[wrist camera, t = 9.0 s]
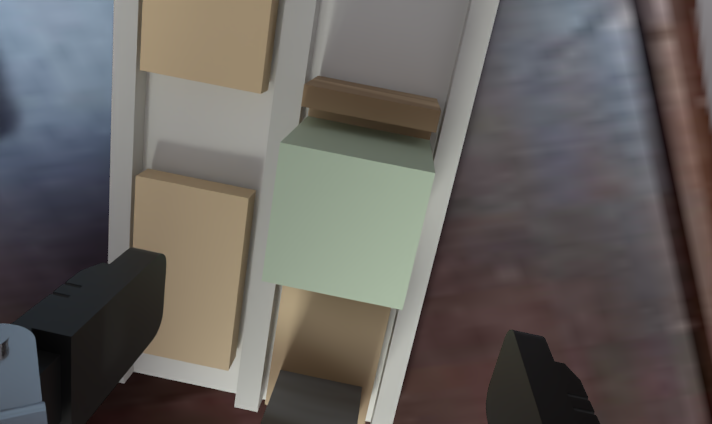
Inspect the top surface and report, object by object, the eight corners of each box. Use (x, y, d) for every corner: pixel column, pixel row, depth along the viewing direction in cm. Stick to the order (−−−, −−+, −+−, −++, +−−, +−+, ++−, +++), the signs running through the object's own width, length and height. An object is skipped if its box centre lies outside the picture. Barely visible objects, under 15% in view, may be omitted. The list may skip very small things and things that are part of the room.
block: (404, 252, 24) (402, 310, 19) (290, 229, 24) (261, 280, 19) (429, 140, 22) (435, 173, 17) (307, 116, 22) (279, 142, 17)
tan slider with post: (365, 408, 28) (349, 557, 20) (270, 388, 28) (218, 528, 20) (437, 98, 22) (450, 140, 15) (318, 75, 23) (271, 105, 15)
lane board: (391, 413, 30) (389, 447, 27) (122, 356, 30) (98, 385, 28) (521, -107, 21) (535, -123, 19) (141, -177, 21) (108, -201, 19)
